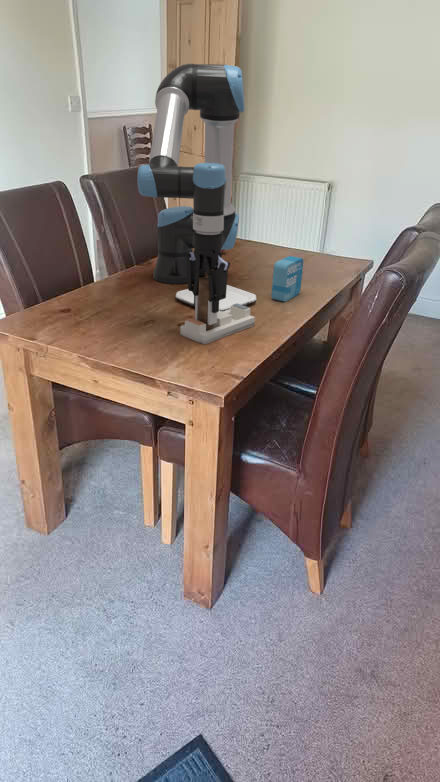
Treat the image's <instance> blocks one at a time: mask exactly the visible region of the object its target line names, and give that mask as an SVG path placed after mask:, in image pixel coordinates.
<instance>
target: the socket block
mask: <svg viewBox="0 0 440 782" xmlns="http://www.w3.org/2000/svg"><path fill="white" fill-rule="evenodd" d="M255 322H256V317H255V316H253V315H251V308H250V307H248V306H247V305H245V306H243V305H240V304H237V303H236V304H233V305H231V309H229V310H226V311H223V312H222V311H218V312H217V323H214V324H213V329H211V330H208V331H206V324H204V323H203V322H201V321H198V320H195V318H193V317H191V318H189V319H187V320H184V324H182V325H180V329H179V330H180V333H179V334H180V336H182V337H185V338H187V339H190V340H192V341H194V342H196V343H199V344H202V345H205V346H206V345H207V344H211V343H212V342H216V341H217V340H220V339H223V338H225V337H228V336H230V335H233V334H236V333H238V332H241V331H243V330H246V329H249V328H252V327H254V326H255V325H256V324H255Z"/></svg>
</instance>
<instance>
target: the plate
mask: <svg viewBox="0 0 440 782" xmlns="http://www.w3.org/2000/svg"><path fill="white" fill-rule="evenodd" d="M215 296H216V295H215ZM175 298H176V299H177V300H179V301H181V302H182V303H184V304H187V305H189V306H192V307H195V306H194V295H193V292H192V291H189V290H188V288H186V289H183V290H179V291H178V290H177V292H176V294H175ZM256 301H257V295H256V294H255V293H251V292H249V291H246V290H244V289H241V288H238V287H234V286H232V285H229V284H227V288H226V298H225V299H222V300H219V311H222V312H223V311H226V310H229V309H231V305H233V304H236V303H237V304H240V305H243V306H249V305H250V304H252V303H254V302H256Z"/></svg>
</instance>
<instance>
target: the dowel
mask: <svg viewBox="0 0 440 782" xmlns="http://www.w3.org/2000/svg"><path fill="white" fill-rule="evenodd" d="M209 299H211V297H210V289H209V280H208V275H205V276H203V277H200V278H199V301H198V321H201V322H203V323H204V324H206V331H208V330H211V329H213V324H212V325H208V300H209Z"/></svg>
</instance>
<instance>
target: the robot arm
mask: <svg viewBox="0 0 440 782" xmlns="http://www.w3.org/2000/svg"><path fill="white" fill-rule="evenodd" d="M154 105H155V108H156V116H155V121H154V127H153V134H152V135H153V136H152V141H151V147H150V154H149V160H148V164H142V165H140V166H139V167H138V169H137V179H136V180H137V189H138V193H139V194H140V195H141V196H142V197H149V198H156V199H157V198H161V199H162V198H164V199H166V198H167V199H170V198H172V199H175V198H176V199H189V200H190V199H191V200H193V203H192V205H193V207H192V206H185V205H184V206H183V205H182V206H173V207H168V208H165V209H162V210H161V211H160V212H159V213H158V214H157V224H156V226H157V248H158V249H157V253H158V254H157V258H156V263H155V268H154V269H153V279H154V280H155V281H158V282H159V283H164V284H173V285H174V284H176V285H178V284H179V285H181V284H187V289H188V290H189V291H192V292H193V295H194V306H193V307H194V308H195V309H194V319H195V320H198V301H199V278H200V277H203V276H208V280H209V289H210V297H211V299H209V300H208V325H212V324H214V323H217V312H218V311H219V300H222V299H225V298H226V288H227V285H228V275H229V273H228V272H229V268H230V266H231V262H230V261H229V260H228V261H225V260H224V259H223V256H222V253H221V250H225V251H226V250H232V249H233V248H235V244H236V240H237V235H238V229H239V228H238V227H239V222H240V214H239V213H236V208H235V206H234V205H233V204H232V185H233V184H232V182H233V181H232V180H233V179H232V178H233V174H232V173H233V156H234V154H233V153H234V152H233V151H234V132H235V130H234V129H235V124H236V123H237V122H238V120H240V113H244V112H245V94H244V80H243V72H242V69H241V68H240V67H239V66H235V65H229V64H212V63H211V64H206V63H203V64H202V63H201V64H199V63H198V64H197V63H186V64H181V65H179V66H177V67H175V68H173V70H170V72H169V73H168V74H166V76H165V77H164V78H163V79H162V80H161V82H160V83H159V85H158V88H157V89H156V93H155V100H154ZM190 110H191V111H199V118H200V119H201V120H202V121H203V123H204V162H200V163H196V164H195V165H194V166H179V163H180V162H179V161H180V156H181V148H182V140H183V139H182V138H183V132H184V131H183V129H184V122H185V116H186V114H187V113H188V112H189V111H190ZM215 295H216V296H215Z"/></svg>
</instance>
